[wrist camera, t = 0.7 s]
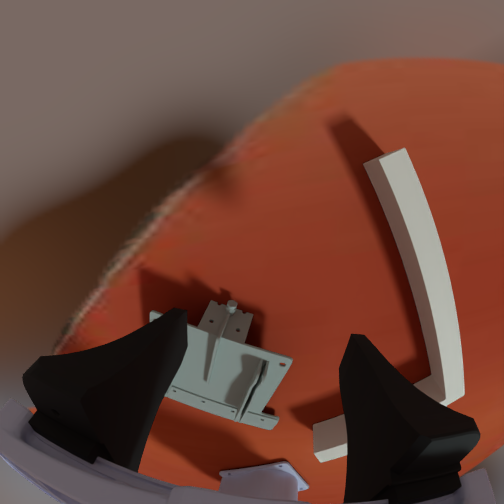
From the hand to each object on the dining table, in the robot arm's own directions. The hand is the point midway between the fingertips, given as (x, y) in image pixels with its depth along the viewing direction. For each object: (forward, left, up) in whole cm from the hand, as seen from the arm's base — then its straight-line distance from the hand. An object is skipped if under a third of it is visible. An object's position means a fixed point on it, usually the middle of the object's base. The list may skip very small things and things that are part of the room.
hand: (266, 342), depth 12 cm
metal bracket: (-9, -6, -11) cm, 15 cm away
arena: (+4, -7, -10) cm, 13 cm away
